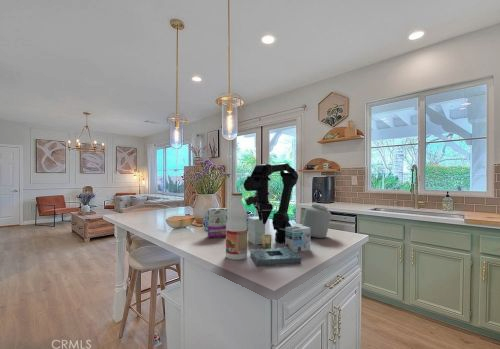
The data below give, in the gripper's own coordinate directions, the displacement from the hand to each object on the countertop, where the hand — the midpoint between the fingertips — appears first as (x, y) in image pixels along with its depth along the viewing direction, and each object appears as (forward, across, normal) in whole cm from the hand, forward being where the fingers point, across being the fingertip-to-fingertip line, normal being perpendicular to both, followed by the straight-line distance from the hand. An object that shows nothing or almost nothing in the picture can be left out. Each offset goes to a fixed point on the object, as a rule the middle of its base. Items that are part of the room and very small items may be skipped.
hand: (262, 222), depth 115 cm
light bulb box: (+13, +3, +17) cm, 22 cm away
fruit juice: (+13, +9, -13) cm, 21 cm away
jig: (+13, +14, +2) cm, 20 cm away
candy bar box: (+13, -27, -21) cm, 37 cm away
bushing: (+13, +2, +2) cm, 13 cm away
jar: (+14, -19, +37) cm, 44 cm away
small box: (+13, -12, -1) cm, 18 cm away
